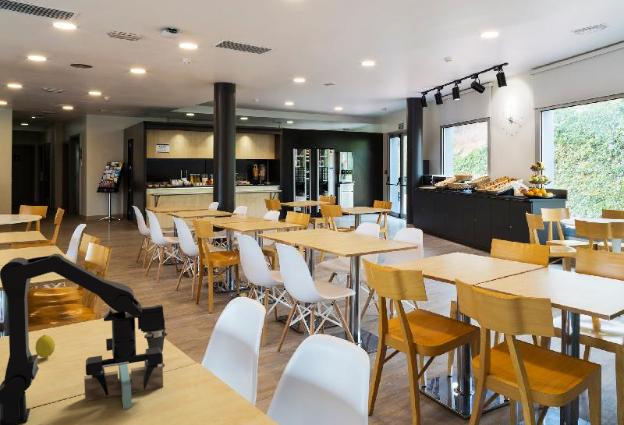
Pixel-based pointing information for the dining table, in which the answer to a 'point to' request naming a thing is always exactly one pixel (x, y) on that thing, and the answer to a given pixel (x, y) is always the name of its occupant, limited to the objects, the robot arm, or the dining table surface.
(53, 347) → the lemon
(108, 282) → the robot arm
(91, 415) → the dining table surface
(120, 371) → the teal slotted plate
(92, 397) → the walnut slotted plate
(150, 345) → the sundae
